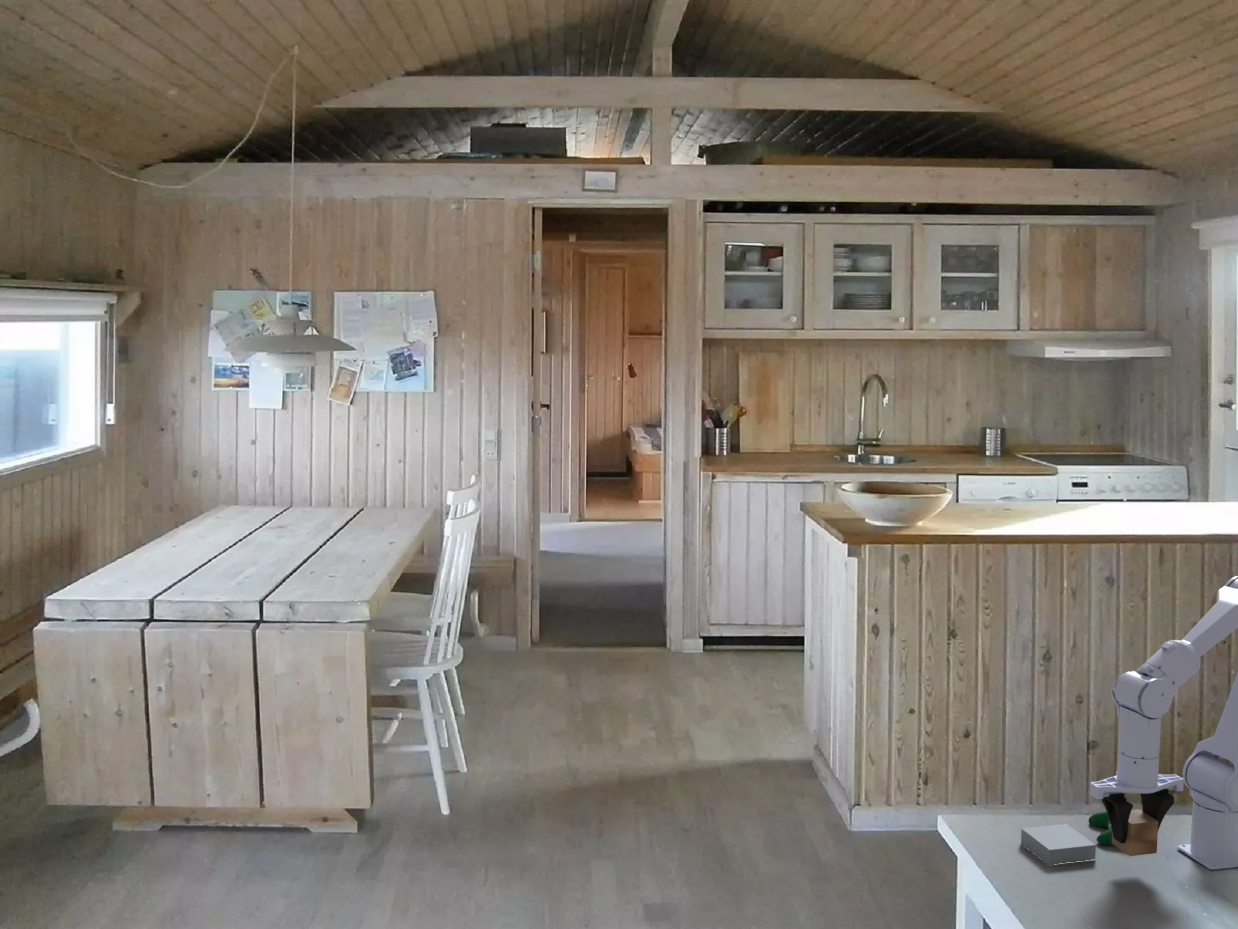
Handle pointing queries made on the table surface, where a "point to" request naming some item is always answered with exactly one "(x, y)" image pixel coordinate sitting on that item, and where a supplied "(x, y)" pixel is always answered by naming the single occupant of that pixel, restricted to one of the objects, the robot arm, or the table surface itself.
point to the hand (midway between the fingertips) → (1134, 839)
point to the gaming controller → (1102, 821)
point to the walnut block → (1139, 835)
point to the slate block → (1057, 844)
